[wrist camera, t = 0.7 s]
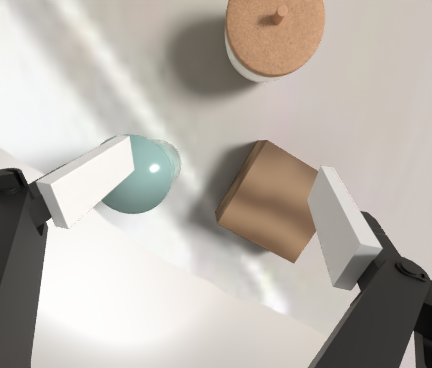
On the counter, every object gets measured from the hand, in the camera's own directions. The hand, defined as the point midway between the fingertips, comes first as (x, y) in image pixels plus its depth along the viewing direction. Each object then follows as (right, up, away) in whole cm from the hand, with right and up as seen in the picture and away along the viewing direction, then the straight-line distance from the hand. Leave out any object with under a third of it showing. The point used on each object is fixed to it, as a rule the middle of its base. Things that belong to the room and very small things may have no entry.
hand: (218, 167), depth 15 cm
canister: (-9, +2, +17) cm, 20 cm away
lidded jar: (+6, +18, +15) cm, 24 cm away
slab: (+9, -3, +19) cm, 21 cm away
